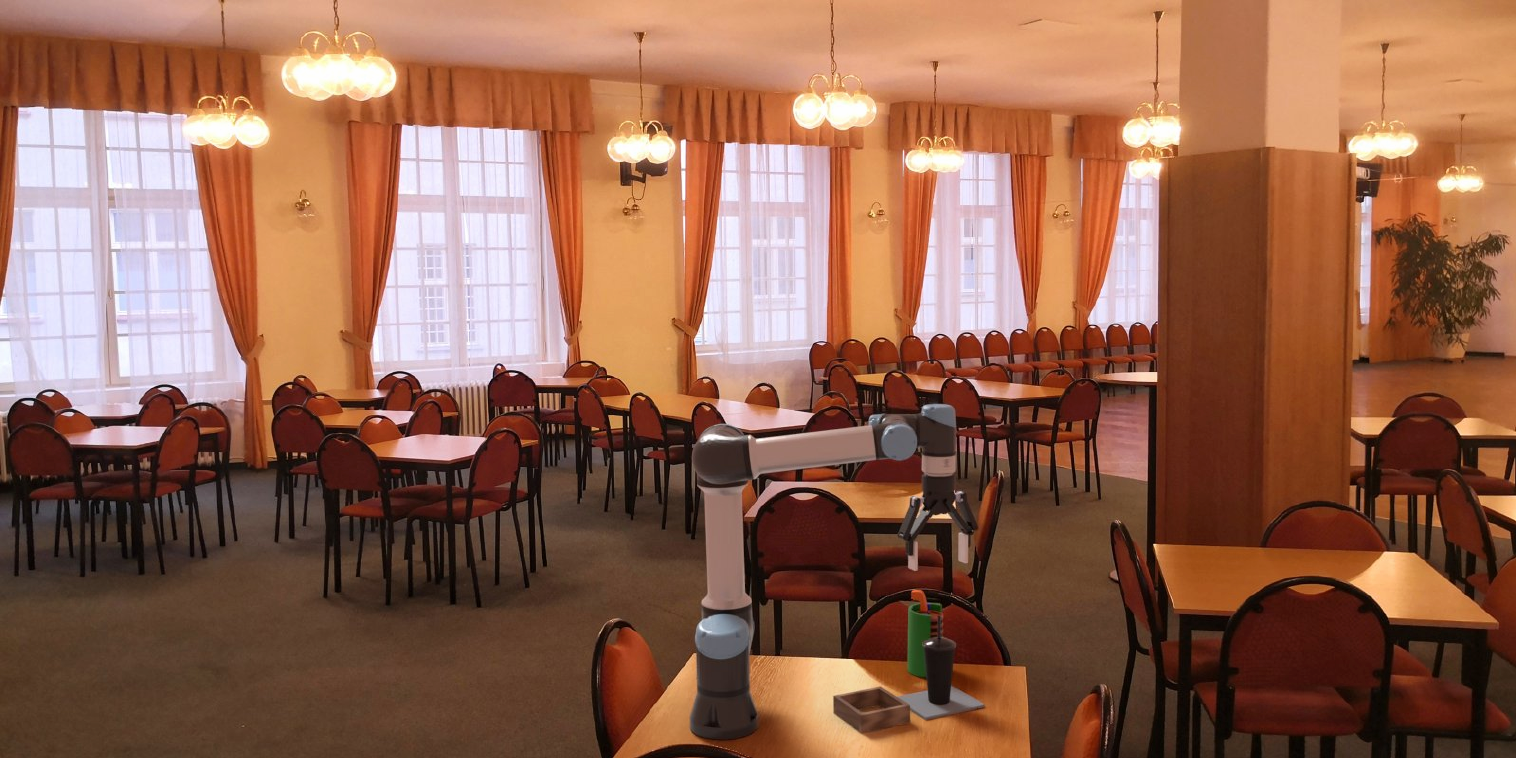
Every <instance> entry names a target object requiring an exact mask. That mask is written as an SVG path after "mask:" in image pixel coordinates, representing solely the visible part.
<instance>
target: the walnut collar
mask: <svg viewBox="0 0 1516 758" xmlns="http://www.w3.org/2000/svg"><path fill="white" fill-rule="evenodd" d="M832 697H833V699H832V700H833V707H832V708H833V710H832V711H833V714H834V715H836V716H837V717H838V718H840V720H842V721H844V722H845V723H847V724H848V725H849V726H850V727H852V728H854V730H856V731H858V732H859V733H860V734H864V733H870V732H874V731H879V730H883V729H888V728H893V727H897V726H901V725H905V724H906V725H907V724H910V723H911V710H910V705H909V704H907V703H906V702H904V701H903V700H901V699H900V698H898V696H896V695H895V694H893V693H891V692H890V691H889V690H887V689H886V688H884V687H882V686H875V687H871V688H866V689H861V690H856V691H855V690H854V691H852V692H851V691H850V692H846V693H842V694H841V693H840V694H837V695H832ZM873 707H881V708H882V709H876V710H871V711H867V712H862V711H861V710H864V709H869V708H873Z"/></svg>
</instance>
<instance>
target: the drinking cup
mask: <svg viewBox="0 0 1516 758" xmlns="http://www.w3.org/2000/svg"><path fill="white" fill-rule="evenodd" d="M922 646H923V647H924V657H925V668H926V688H927V689H926V691H927V690H928V700H929V702H930V703H932V704H936V705H944V704H948V703H949V702H950V692H951V685H952V681H953V669H954V659H955V658H954V657H955V648H957V643H956V641H954V640H952V639H949V638H947V637H944V636H943V637H941V616H938V637H932V638H929V639H926V640H924V641H923V642H922Z"/></svg>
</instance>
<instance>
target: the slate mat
mask: <svg viewBox="0 0 1516 758" xmlns="http://www.w3.org/2000/svg"><path fill="white" fill-rule="evenodd" d="M897 697H898V698H900V699H901V700H903V701H904V702H906V703H907V704H909V705H910V712H912V713H914V714H916V715H917V716H918V717H920V718H922V719H923V720H925V721H927V720H932V719H936V718H940V717H945V716H950V715H955V714H959V713H963V712H967V711H972V710H977V708H978V709H981V708H982V709H983V708H985V707H986V706H985V705H986V704H985V703H982V702H981V701H980V700H978V699H976V698H975V697H973V696H971V695H969V694H967V693H965V692H963V691H962V690H960V689H959V688H957V687H955V686H954V685H952V684H951V692H950V702H949V703H948V704H944V705H936V704H932V703H930V702H929V700H928V690H927V689H926V690H922V691H918V692H917V691H916V692H913V693H908V694H903V695H899V696H897Z"/></svg>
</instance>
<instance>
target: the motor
mask: <svg viewBox="0 0 1516 758" xmlns="http://www.w3.org/2000/svg"><path fill="white" fill-rule="evenodd" d="M910 596H911V597H910V600H911V599H913V600H912V601H918V603H913V604H911V605H910V606H908V611H907V612H908V613H907V614H908V617H907V618H908V619H907V621H908V623H907V671H908V673H909V674H911V675H912V676H915V677H920V678H925V677H926V668H925V657H924V647H923V646H922V642H923V641H924V640H926V639H929V638H932V637H938V616H941V637H944V634H943V633H944V627H943V626H944V620H943V619H944V613H943V604H940V603H932V602H928V601H927V597H926V594H925V593H924V591H923V590H921V589H915V590H912V591H911V593H910Z"/></svg>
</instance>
